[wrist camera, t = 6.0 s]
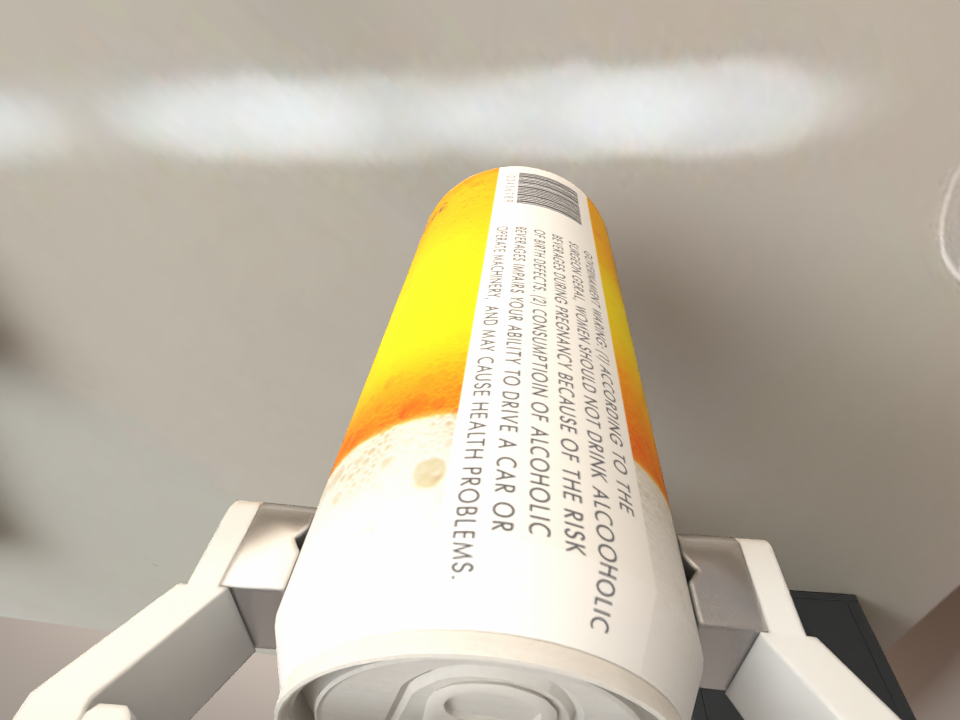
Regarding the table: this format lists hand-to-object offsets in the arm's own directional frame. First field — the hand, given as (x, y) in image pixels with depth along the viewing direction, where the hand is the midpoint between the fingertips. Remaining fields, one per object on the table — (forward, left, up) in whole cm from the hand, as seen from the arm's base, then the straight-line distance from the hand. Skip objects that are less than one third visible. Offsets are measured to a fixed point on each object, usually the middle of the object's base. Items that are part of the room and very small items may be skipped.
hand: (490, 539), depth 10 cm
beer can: (0, 0, -12) cm, 12 cm away
